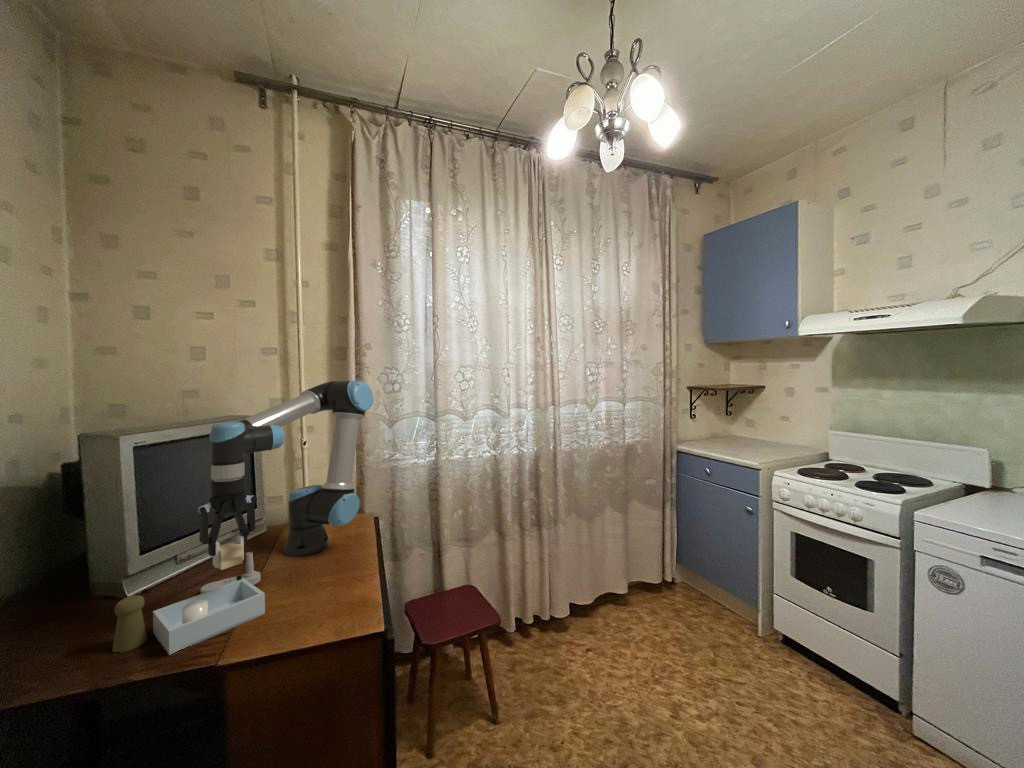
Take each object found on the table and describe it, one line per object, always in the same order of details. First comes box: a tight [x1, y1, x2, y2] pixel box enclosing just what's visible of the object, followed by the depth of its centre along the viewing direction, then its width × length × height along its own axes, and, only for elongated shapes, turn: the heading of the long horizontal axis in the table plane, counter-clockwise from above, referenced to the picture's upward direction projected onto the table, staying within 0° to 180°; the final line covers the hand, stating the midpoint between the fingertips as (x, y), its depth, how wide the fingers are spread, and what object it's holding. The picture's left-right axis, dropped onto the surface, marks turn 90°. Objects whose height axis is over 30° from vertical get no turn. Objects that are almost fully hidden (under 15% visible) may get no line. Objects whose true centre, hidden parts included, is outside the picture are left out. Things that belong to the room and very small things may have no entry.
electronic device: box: [199, 551, 262, 595], centre depth 119 cm, size 5×10×15 cm
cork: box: [111, 595, 148, 654], centre depth 94 cm, size 6×6×11 cm
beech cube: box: [218, 540, 244, 571], centre depth 107 cm, size 5×5×5 cm
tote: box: [152, 579, 266, 656], centre depth 101 cm, size 20×14×6 cm
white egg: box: [182, 600, 208, 624], centre depth 96 cm, size 5×5×7 cm
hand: (228, 562), depth 107 cm, fingers closed on beech cube, 5 cm apart
